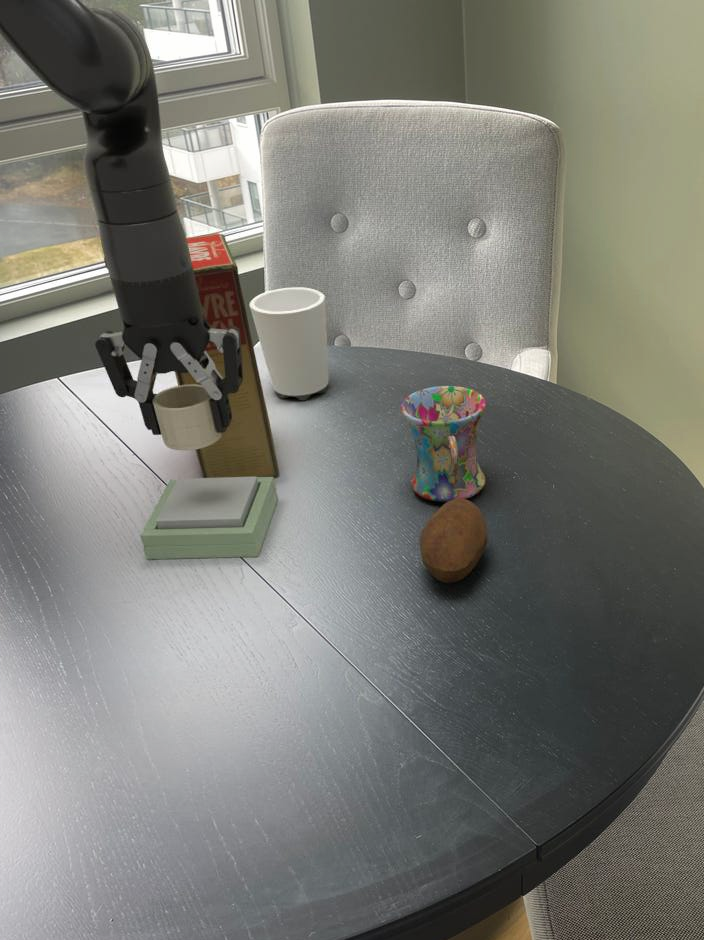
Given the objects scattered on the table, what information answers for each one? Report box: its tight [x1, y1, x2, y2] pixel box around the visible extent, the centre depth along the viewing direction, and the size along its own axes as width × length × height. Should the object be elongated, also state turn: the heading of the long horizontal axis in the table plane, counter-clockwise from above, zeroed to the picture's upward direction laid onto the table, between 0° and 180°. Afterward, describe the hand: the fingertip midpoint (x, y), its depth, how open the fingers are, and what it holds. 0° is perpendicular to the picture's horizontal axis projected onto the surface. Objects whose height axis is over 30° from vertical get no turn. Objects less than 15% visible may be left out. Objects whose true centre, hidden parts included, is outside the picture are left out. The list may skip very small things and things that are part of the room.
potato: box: [419, 498, 488, 584], centre depth 97 cm, size 7×12×7 cm, turn 175°
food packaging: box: [174, 232, 280, 479], centre depth 112 cm, size 13×9×25 cm
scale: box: [140, 477, 279, 560], centre depth 107 cm, size 12×12×3 cm
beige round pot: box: [152, 384, 222, 452], centre depth 99 cm, size 6×6×4 cm
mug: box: [400, 385, 487, 503], centre depth 108 cm, size 12×9×11 cm
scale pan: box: [156, 477, 259, 529], centre depth 106 cm, size 9×9×1 cm
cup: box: [249, 286, 330, 401], centre depth 132 cm, size 10×10×13 cm
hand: (190, 430), depth 100 cm, fingers closed on beige round pot, 6 cm apart
